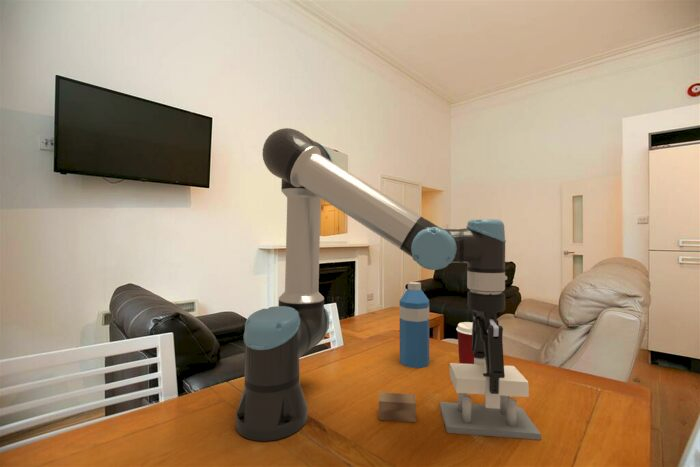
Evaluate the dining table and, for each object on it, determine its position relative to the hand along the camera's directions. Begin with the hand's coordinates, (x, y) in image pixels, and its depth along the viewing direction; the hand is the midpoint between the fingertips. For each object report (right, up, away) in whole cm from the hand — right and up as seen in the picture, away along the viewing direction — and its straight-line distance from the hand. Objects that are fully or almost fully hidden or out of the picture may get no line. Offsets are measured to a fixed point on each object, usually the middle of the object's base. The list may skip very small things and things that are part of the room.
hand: (486, 396), depth 70 cm
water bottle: (-9, -6, +32) cm, 34 cm away
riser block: (-19, -6, +2) cm, 20 cm away
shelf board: (0, +2, 0) cm, 2 cm away
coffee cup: (+5, -6, +21) cm, 22 cm away
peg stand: (0, -6, 0) cm, 6 cm away
